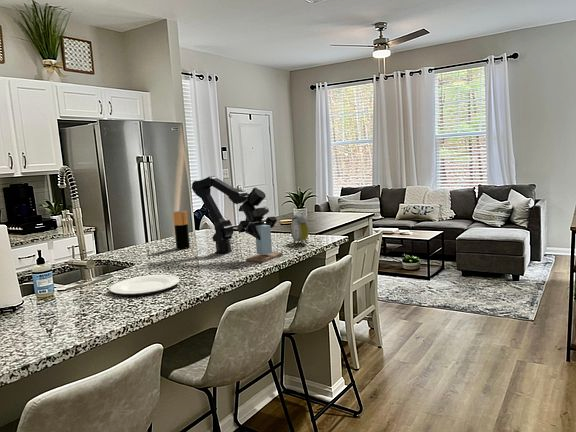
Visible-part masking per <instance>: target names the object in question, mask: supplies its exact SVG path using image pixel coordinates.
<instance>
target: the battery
mask: <svg viewBox="0 0 576 432" xmlns="http://www.w3.org/2000/svg"><path fill="white" fill-rule="evenodd" d="M172 214H173V215H172V216H173V226H174V236H175V248H176V249H177V250H182V249H183V250H184V249H189V248H191V245H190V244H191V243H190V233H189V232H190V231H189V219H188V211H187V210H177V211H173V212H172Z"/></svg>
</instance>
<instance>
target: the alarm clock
mask: <svg viewBox="0 0 576 432" xmlns="http://www.w3.org/2000/svg"><path fill="white" fill-rule="evenodd" d="M309 231H310V230H309V225H308V222H307V218H306V216H305V215H303V214H301V215H300V214H298V213H297V214H296V213H295V214H293V215H292V216H291V223H290V233H291V237H292V239H293V243H295V242H300V244H301V246H303V245H304V242H305V243H308V241H307V239H308V238H309Z"/></svg>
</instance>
